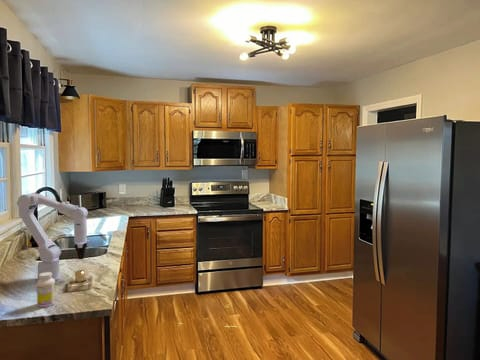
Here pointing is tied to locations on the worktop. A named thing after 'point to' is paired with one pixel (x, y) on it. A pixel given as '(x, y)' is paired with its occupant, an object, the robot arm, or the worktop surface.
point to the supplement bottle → (46, 290)
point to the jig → (80, 284)
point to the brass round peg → (79, 276)
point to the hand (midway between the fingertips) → (81, 258)
